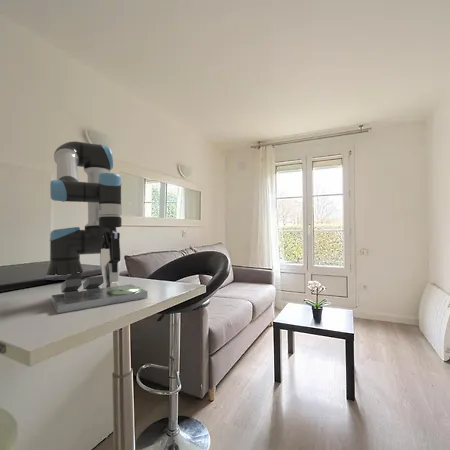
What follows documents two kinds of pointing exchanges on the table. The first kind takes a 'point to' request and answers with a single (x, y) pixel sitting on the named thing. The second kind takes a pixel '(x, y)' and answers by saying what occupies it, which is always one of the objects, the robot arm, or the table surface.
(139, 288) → the switch panel
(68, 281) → the rocker tagged
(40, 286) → the table surface
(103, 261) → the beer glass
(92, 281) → the rocker plain
